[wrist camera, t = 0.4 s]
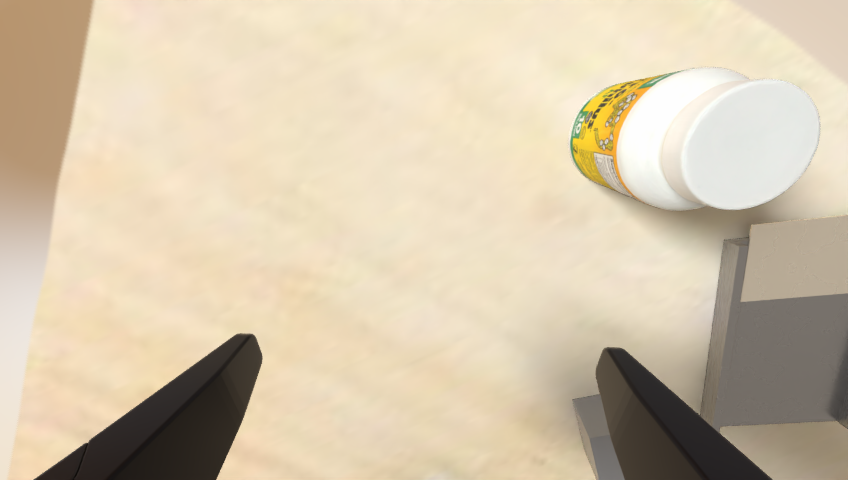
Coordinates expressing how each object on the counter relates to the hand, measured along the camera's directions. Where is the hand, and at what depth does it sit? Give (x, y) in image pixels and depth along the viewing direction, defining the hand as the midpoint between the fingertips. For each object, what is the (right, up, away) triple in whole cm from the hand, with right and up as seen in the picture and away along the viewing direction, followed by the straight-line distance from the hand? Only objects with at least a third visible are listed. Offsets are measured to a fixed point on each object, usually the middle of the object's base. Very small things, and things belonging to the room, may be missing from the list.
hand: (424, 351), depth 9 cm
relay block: (+13, -10, +17) cm, 24 cm away
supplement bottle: (+11, +9, +11) cm, 18 cm away
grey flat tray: (+23, -3, +14) cm, 28 cm away
